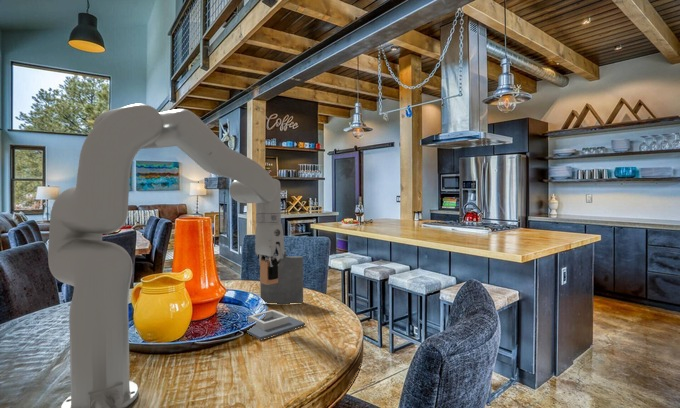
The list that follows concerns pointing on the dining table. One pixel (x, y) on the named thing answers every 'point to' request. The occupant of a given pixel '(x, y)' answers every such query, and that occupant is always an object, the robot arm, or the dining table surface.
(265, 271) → the connector plug
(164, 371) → the dining table surface
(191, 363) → the dining table surface
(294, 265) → the hip flask
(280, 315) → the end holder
